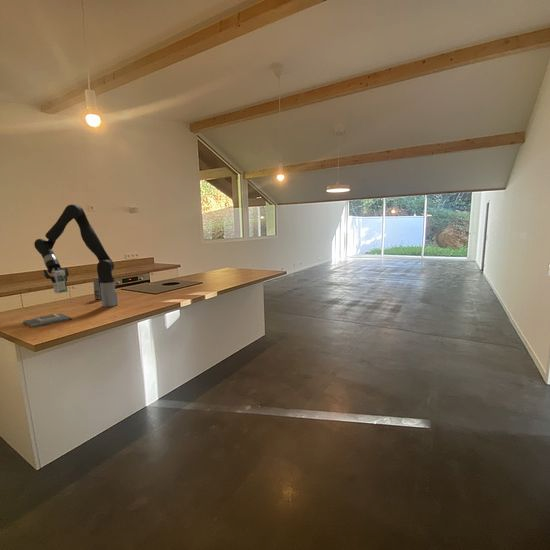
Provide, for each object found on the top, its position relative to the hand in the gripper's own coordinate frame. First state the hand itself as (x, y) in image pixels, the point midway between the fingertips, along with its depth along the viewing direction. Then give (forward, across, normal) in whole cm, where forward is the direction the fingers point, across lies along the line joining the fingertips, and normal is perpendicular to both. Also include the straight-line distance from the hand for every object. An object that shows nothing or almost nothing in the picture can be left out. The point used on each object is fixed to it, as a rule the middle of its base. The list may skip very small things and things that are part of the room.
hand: (60, 281), depth 212 cm
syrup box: (+4, 0, +7) cm, 8 cm away
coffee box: (-3, +36, +34) cm, 50 cm away
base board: (+24, -13, +6) cm, 28 cm away
